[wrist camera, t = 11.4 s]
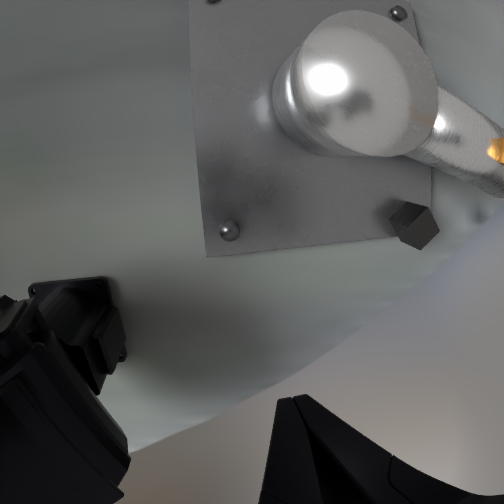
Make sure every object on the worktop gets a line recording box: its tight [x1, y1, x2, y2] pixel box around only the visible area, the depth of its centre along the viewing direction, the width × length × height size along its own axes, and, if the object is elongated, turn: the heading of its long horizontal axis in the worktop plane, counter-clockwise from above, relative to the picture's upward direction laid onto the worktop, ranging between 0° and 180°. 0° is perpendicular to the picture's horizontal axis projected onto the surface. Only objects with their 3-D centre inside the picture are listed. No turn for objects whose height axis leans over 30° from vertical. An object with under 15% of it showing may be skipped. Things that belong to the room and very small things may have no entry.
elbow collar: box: [272, 10, 504, 198], centre depth 15 cm, size 16×7×6 cm, turn 78°
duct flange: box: [188, 0, 440, 257], centre depth 17 cm, size 16×18×3 cm
